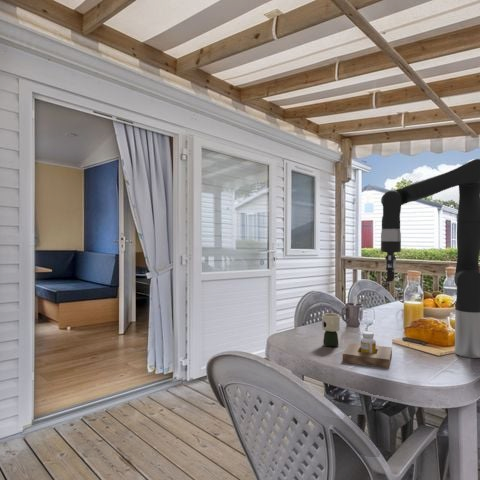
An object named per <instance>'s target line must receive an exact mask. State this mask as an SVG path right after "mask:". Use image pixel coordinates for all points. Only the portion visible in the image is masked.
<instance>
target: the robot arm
mask: <svg viewBox="0 0 480 480" xmlns="http://www.w3.org/2000/svg"><path fill="white" fill-rule="evenodd" d="M457 186H458V191H459V192H458V193H459V196H458V206H457V222H456V249H457V259H456V265H455V273H454V276H453V277H454V279H453V280H454V284H455V287H456V300H455V304H454V305H455V306H454V354H456V355H457V356H460V357H464V358H471V359H480V271H479V270H480V267H479V265H480V264H479V259H480V258H479V255H480V158H473V159H470V160H468V161H466V162H465V163H463V164H462V165H460V166H458V167H455V168H453V169H451V170H449V171H446V172H443V173H441V174H437V175H433V176H430V177H427V178H425V179H421V180H418V181H415V182H412V183H410V184H407V185H405V186H403V187H401V188H398V189H395V190H392V189H391V190H390V189H389V190H387V191H386V192H384V194H383V195H382V196H381V199H380V202H381V205H382V216H381V230H380V231H381V232H380V251H381V252H383V253H386V255H385V256H384V258H385V259H384V260H385V270H386V281H387V282H393V281H394V279H395V269H396V265H397V264H396V263H397V256H396V254H395V253H400V252H401V251H402V234H401V233H402V232H401V210H402V206H403V205H406V204H408V203H411V202H415V201H420V200H422V199H425V198H428V197H431V196H434V195H436V194H438V193H441V192H443V191H446V190H448V189H451V188H454V187H455V188H456V187H457Z"/></svg>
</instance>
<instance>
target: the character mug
mask: <svg viewBox="0 0 480 480" xmlns="http://www.w3.org/2000/svg"><path fill="white" fill-rule="evenodd" d="M321 316H322V317H321V318H322V319H321V320H322V323H321V325H322V326H321V328H322V330H323V331H325V332H324V335H323V342H322V343H323V345H324V346H326V347H330V348H332V347H334V346H335V347H336V346H339V336H338V332H339V331H340V324H341V323H340V319H341V318H340V316H341V315H340V314H338V313H332V312H329V313H322V315H321Z"/></svg>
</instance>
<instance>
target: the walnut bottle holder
mask: <svg viewBox="0 0 480 480" xmlns="http://www.w3.org/2000/svg"><path fill="white" fill-rule="evenodd" d="M392 356H393V347H390V346H381V345H376V354H372V353H363V352H361V343H355V342H348V344H347V346H346V347H345V349H344V351H343V352H342V363H349V364H356V365H361V366H362V365H363V366H370V367H378V368H386V369H390V367H391V361H392Z"/></svg>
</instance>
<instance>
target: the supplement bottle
mask: <svg viewBox="0 0 480 480" xmlns="http://www.w3.org/2000/svg"><path fill="white" fill-rule="evenodd" d="M374 336H375V334H374V332H372V331H363V332H362V337H361V338H360V344H361V352H363V353H372V354H376V346H377V345H376V344H377V341H376V338H374Z"/></svg>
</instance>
